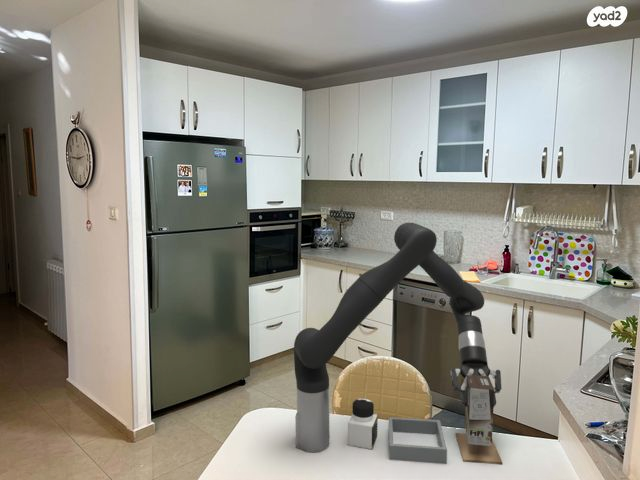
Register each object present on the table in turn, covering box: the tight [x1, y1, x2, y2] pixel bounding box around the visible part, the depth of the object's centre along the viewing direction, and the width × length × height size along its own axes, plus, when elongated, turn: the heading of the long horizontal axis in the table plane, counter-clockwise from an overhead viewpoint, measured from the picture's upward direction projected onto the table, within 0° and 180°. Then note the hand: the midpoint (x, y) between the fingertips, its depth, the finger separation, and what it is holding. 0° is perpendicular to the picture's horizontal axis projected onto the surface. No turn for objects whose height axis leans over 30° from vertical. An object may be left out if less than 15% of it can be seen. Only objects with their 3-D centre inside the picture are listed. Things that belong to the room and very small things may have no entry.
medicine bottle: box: [347, 398, 378, 450], centre depth 130 cm, size 7×7×12 cm
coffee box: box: [464, 375, 495, 446], centre depth 125 cm, size 9×6×16 cm
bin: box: [388, 416, 448, 465], centre depth 128 cm, size 15×15×4 cm
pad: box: [455, 432, 503, 465], centre depth 127 cm, size 10×13×1 cm
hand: (479, 406), depth 125 cm, fingers closed on coffee box, 6 cm apart
